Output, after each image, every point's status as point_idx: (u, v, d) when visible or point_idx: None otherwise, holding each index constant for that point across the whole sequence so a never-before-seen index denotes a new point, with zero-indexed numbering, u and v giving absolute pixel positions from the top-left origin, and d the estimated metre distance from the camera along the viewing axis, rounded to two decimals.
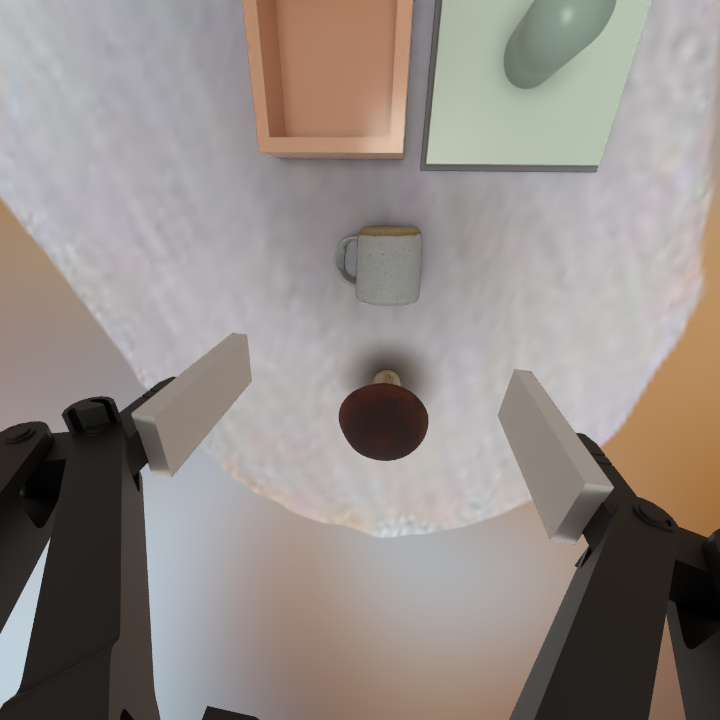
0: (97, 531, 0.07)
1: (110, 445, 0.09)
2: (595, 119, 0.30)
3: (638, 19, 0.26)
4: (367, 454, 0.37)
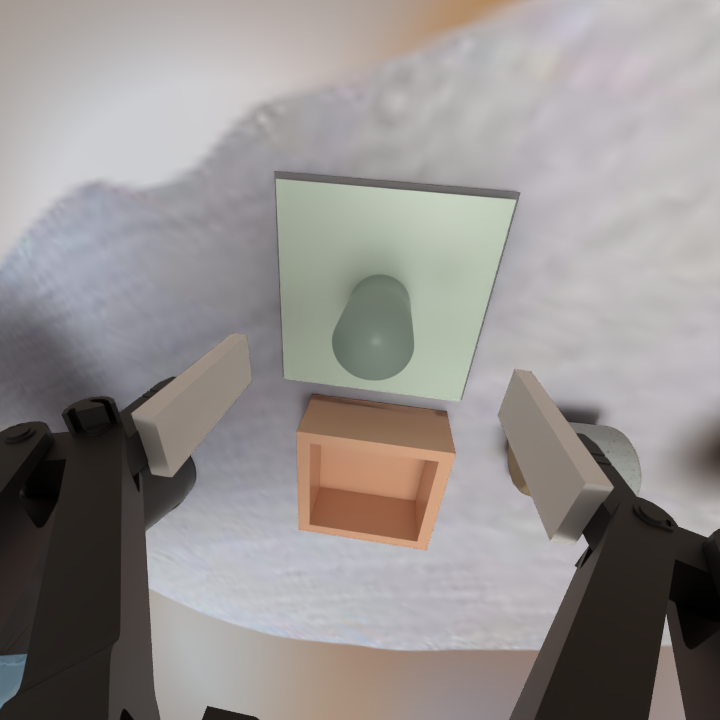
0: (98, 532, 0.07)
1: (110, 445, 0.09)
2: (457, 220, 0.22)
3: (365, 195, 0.22)
4: None
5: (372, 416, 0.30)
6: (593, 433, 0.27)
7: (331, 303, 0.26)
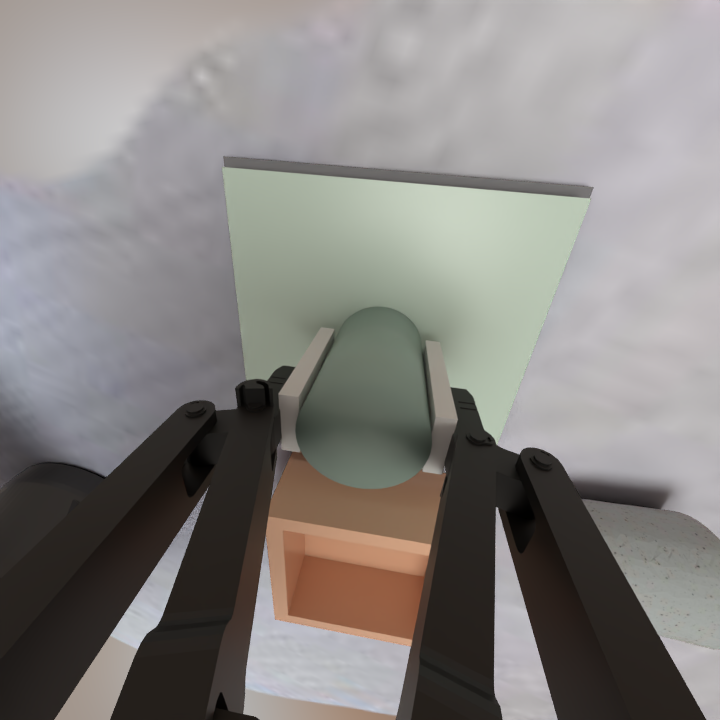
0: (237, 503, 0.08)
1: (261, 424, 0.10)
2: (496, 230, 0.15)
3: (355, 192, 0.15)
4: None
5: None
6: (671, 533, 0.19)
7: (310, 343, 0.19)
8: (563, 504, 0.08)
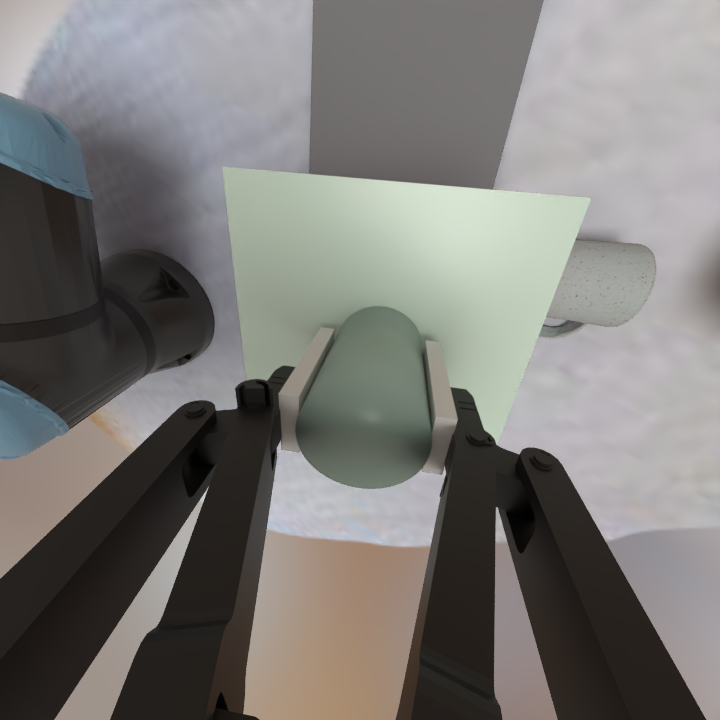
0: (237, 503, 0.08)
1: (261, 424, 0.10)
2: (496, 230, 0.15)
3: (355, 192, 0.15)
4: None
5: None
6: (609, 242, 0.28)
7: (310, 343, 0.19)
8: (563, 504, 0.08)
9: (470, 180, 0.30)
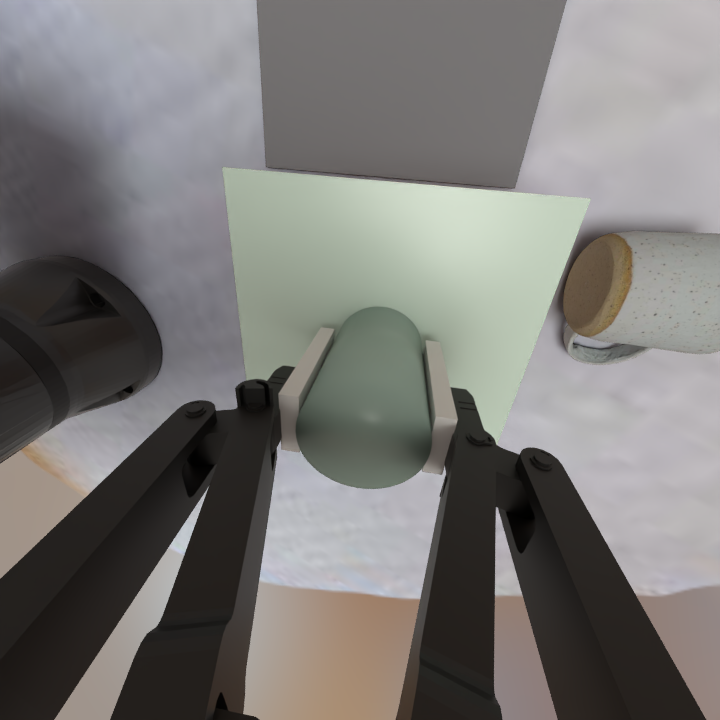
0: (237, 503, 0.08)
1: (261, 424, 0.10)
2: (495, 230, 0.15)
3: (355, 192, 0.15)
4: None
5: None
6: (699, 233, 0.19)
7: (310, 343, 0.19)
8: (563, 504, 0.08)
9: (493, 141, 0.21)
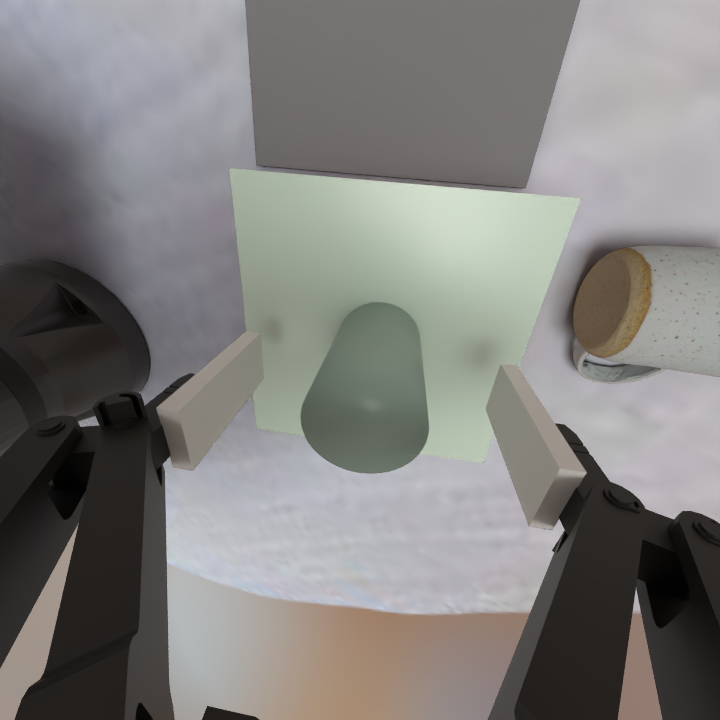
0: (121, 523, 0.07)
1: (136, 439, 0.09)
2: (490, 228, 0.15)
3: (357, 192, 0.15)
4: None
5: None
6: None
7: (313, 338, 0.20)
8: None
9: (502, 137, 0.19)
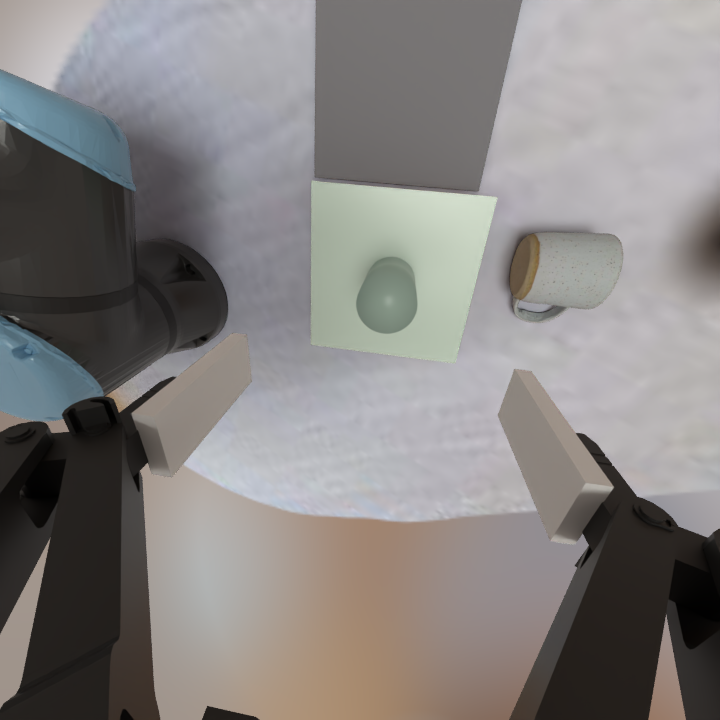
0: (98, 531, 0.07)
1: (110, 445, 0.09)
2: (452, 213, 0.29)
3: (380, 194, 0.29)
4: None
5: None
6: (583, 233, 0.31)
7: (351, 280, 0.33)
8: None
9: (463, 161, 0.32)
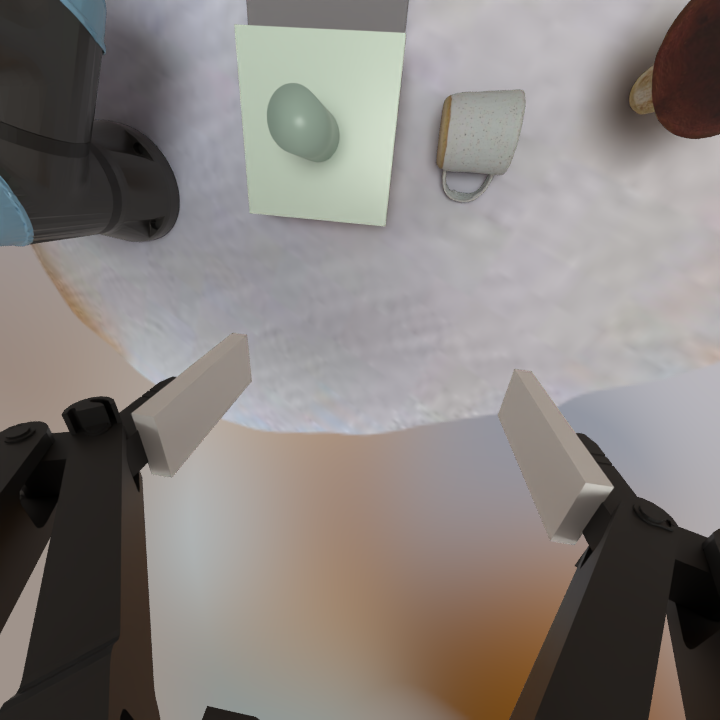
0: (98, 532, 0.07)
1: (110, 445, 0.09)
2: (366, 54, 0.31)
3: (298, 35, 0.31)
4: None
5: None
6: None
7: None
8: None
9: (385, 21, 0.34)
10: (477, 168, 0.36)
